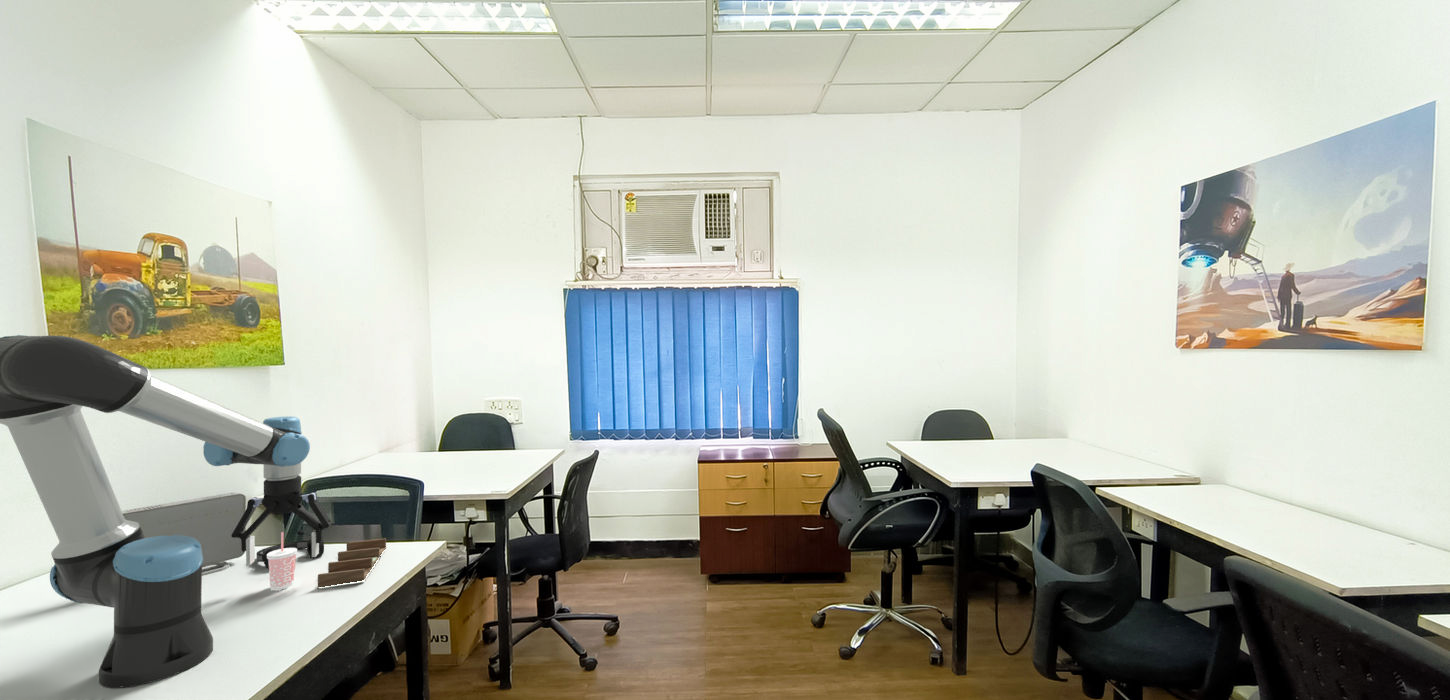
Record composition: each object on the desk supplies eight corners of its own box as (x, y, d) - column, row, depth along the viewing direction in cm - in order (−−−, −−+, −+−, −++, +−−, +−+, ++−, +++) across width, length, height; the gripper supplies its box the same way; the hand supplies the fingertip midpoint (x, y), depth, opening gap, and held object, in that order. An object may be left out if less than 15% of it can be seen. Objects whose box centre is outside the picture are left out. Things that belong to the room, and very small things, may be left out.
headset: (275, 536, 147) (247, 532, 157) (277, 572, 146) (248, 565, 157) (332, 523, 158) (302, 520, 169) (333, 556, 158) (304, 551, 168)
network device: (114, 598, 132) (115, 516, 132) (106, 590, 136) (106, 511, 136) (248, 563, 153) (248, 493, 154) (236, 557, 158) (237, 489, 158)
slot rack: (363, 582, 141) (363, 569, 141) (317, 589, 137) (317, 575, 137) (386, 549, 165) (386, 538, 165) (347, 554, 161) (347, 542, 161)
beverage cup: (270, 594, 134) (270, 538, 134) (263, 587, 138) (263, 533, 138) (300, 585, 139) (300, 531, 139) (293, 579, 142) (293, 527, 143)
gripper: (344, 469, 146) (345, 547, 147) (228, 478, 137) (229, 561, 138) (335, 476, 139) (336, 557, 140) (213, 485, 130) (214, 572, 131)
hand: (283, 559), depth 139 cm, fingers open, 13 cm apart
